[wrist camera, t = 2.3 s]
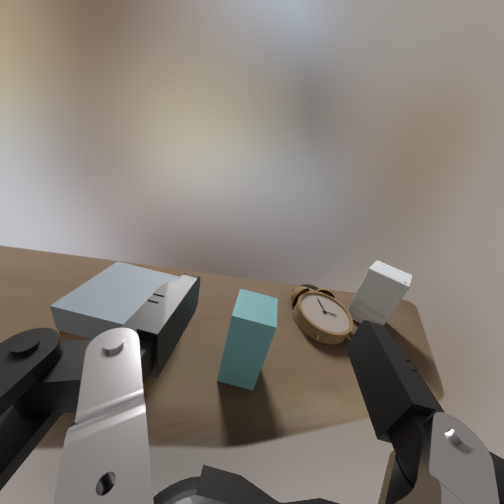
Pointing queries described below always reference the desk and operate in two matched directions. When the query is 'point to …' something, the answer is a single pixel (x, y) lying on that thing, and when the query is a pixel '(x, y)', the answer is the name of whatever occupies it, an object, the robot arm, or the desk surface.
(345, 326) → the alarm clock
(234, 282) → the desk surface
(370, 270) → the supplement box
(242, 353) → the teal block
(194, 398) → the desk surface
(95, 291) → the tower top
